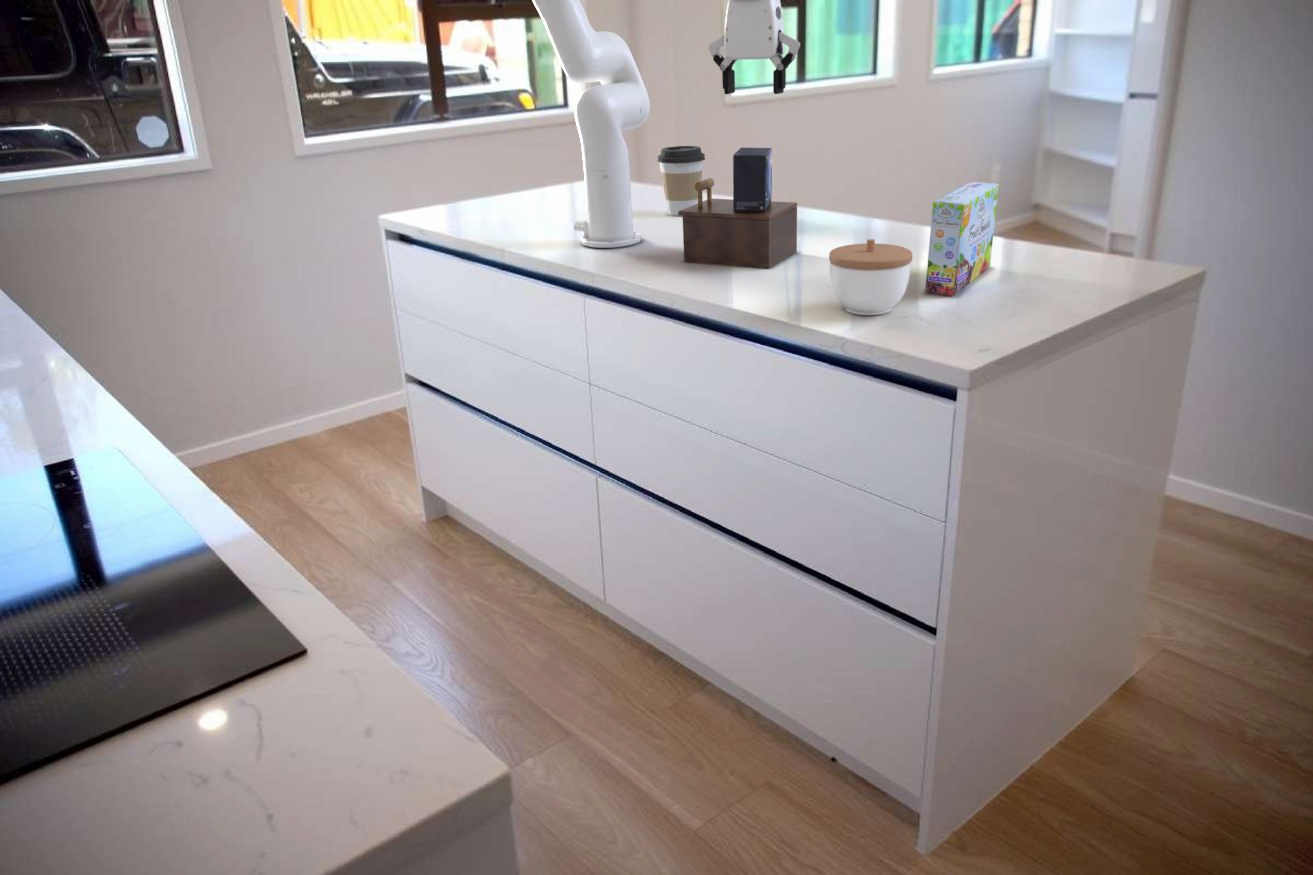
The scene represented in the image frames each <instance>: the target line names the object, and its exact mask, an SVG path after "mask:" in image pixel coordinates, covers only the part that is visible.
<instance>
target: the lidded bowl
mask: <svg viewBox="0 0 1313 875" xmlns="http://www.w3.org/2000/svg"><path fill="white" fill-rule="evenodd" d="M828 254H829V256H828V260H829V278H830V284H831V289H832V292H833V295H834V296H835V298H836V299H837V301H838V302H839V303H840V304H841V305H842V306H843V307H845V311H846V312H847V313H850V314H852V315H857V316H858V315H859V316H880V315H885V314H888V313H890V312H892V310H893V309H892V308H894V307H895V306H896V305H897V304H898V303H899V302H900V301H901V300H902V298H903V297H904V295H905V293H906V291H907V288H908V285H909V282H910V276H911V270H912V268H911V267H912V260H913V252H912V251H911V250H910V249H909V248H907V247H904V246H900V245H896V244H888V243H876V239H875V238H867V239H866V243H853V244H847V245H841V246H838V247H835V248H833V249H831V250H830V251H829V253H828Z"/></svg>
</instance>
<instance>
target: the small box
mask: <svg viewBox="0 0 1313 875" xmlns="http://www.w3.org/2000/svg"><path fill="white" fill-rule="evenodd" d="M772 149H773V148H772V147H740V148H739V149H738V150H737V151H736V152H735V153H733V155H732V185H733V186H732V200H733V212H765V211H766V209H767V208H768V206H769V205H770V203H771V201H772V197H773V195H772V194H773V192H772V191H773V190H772V189H773V151H772Z"/></svg>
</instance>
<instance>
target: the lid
mask: <svg viewBox="0 0 1313 875" xmlns="http://www.w3.org/2000/svg"><path fill="white" fill-rule="evenodd" d="M714 185H715V181H714V179H713V178H711V177H707V178H704V179H703V180H701V181H699V182H697V183H696V184H695V190H696V191H698V204H695V205H693V206H690V207H688V208H685V209H683V210H680V211H678V215H682V216H681V217H683V216H699V217H717V218H735V219H753V220H771V219H773V218H775V217H777V216H779V215H781V214H783V213H785V212H787V211H789V210H791V209H793V208H795V207H797V208H798V202H795V201H794V202H792V201H773V200H771V203H770V205H769V206H768V208H767V209H766V211H765V212H733V198H732V199H731V198H730V199H729V198H713V194H712V187H714ZM705 190H706V199H705V200H703V191H705Z"/></svg>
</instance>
